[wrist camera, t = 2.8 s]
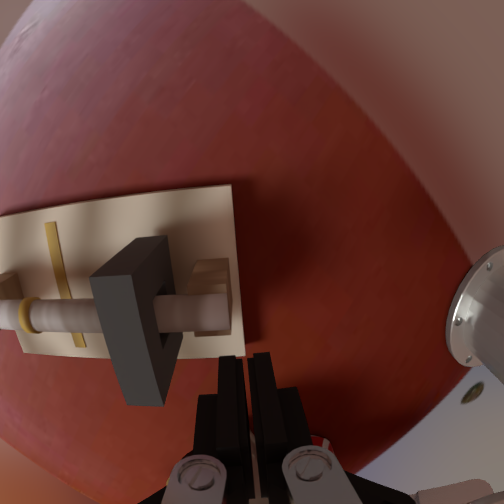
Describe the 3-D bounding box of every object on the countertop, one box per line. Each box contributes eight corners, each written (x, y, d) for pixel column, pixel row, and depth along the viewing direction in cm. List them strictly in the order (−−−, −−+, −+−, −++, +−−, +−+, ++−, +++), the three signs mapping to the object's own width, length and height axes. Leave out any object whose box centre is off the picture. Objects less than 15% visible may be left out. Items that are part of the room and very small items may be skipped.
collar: (167, 234, 19) (131, 274, 12) (183, 336, 21) (163, 406, 14) (136, 237, 19) (88, 277, 12) (155, 337, 21) (127, 404, 14)
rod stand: (231, 184, 21) (227, 195, 14) (244, 344, 24) (247, 408, 17) (-3, 216, 20) (-60, 237, 14) (31, 344, 24) (-8, 387, 17)
